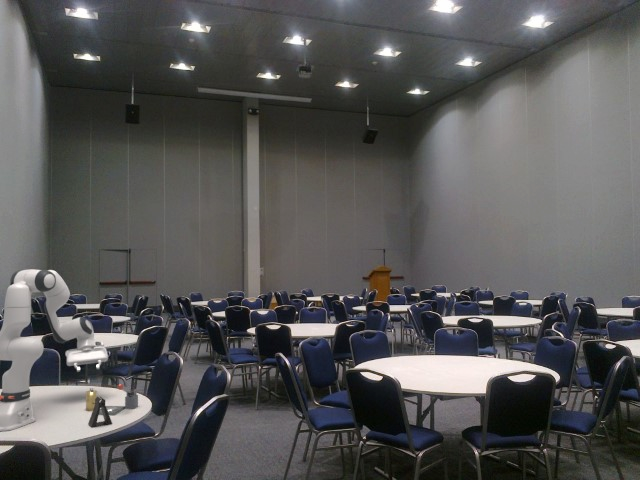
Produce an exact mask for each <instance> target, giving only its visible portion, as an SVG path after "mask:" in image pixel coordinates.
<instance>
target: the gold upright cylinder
mask: <svg viewBox="0 0 640 480" xmlns="http://www.w3.org/2000/svg"><path fill="white" fill-rule="evenodd" d="M96 397H98V391H97V390H94V388H89V390H88V391H85V411H86V412H93V409H94V406H95V399H96Z"/></svg>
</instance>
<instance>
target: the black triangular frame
mask: <svg viewBox="0 0 640 480" xmlns="http://www.w3.org/2000/svg"><path fill="white" fill-rule="evenodd" d="M106 406H107V405H106V399H104V398H103V397H102V396H99V397H98V396H97V397H96V399H95V406H94V409H93V411H91V416H90V417H89V419H88V426H89V427H91V429H92V428H98V427H103V426H109V425H113V422H112V419H111V417H110V416H111V415H109V414H108V411H107V408H106ZM100 409H101V410H102V413H103V415H102V417H103V420H102V421H98V419H99V416H100V415H99V412H100Z"/></svg>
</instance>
